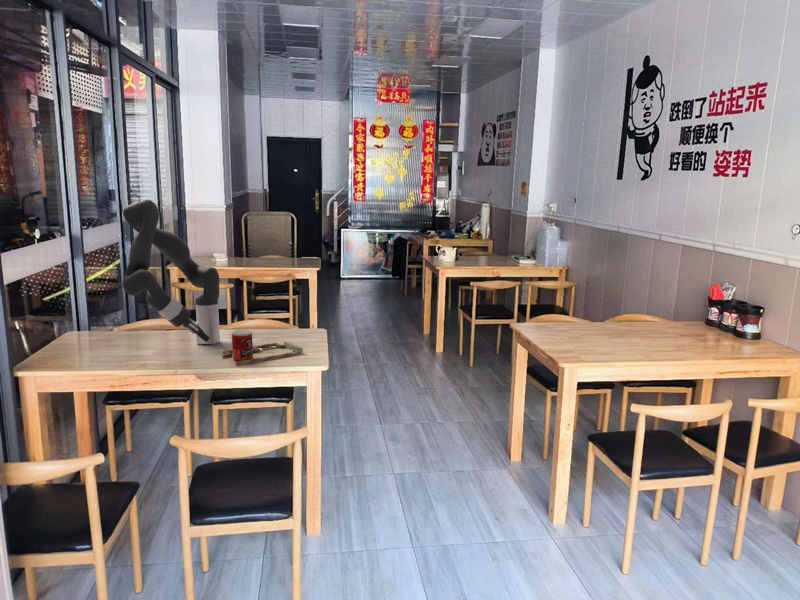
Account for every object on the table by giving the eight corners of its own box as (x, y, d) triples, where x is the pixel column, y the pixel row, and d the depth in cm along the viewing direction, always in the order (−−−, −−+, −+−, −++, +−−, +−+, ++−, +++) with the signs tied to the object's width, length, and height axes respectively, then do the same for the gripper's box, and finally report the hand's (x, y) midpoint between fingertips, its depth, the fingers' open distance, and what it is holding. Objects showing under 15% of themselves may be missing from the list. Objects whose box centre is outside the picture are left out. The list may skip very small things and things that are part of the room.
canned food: (242, 363, 232) (241, 335, 230) (228, 359, 236) (227, 332, 234) (257, 358, 238) (256, 331, 236) (243, 355, 242) (241, 329, 240)
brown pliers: (237, 365, 228) (236, 359, 227) (217, 354, 243) (217, 348, 243) (303, 354, 245) (302, 348, 244) (281, 344, 260) (280, 338, 260)
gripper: (160, 315, 221) (194, 343, 231) (172, 323, 211) (207, 351, 221) (174, 300, 224) (207, 328, 234) (187, 307, 214) (221, 335, 224)
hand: (207, 339), depth 227 cm, fingers closed
